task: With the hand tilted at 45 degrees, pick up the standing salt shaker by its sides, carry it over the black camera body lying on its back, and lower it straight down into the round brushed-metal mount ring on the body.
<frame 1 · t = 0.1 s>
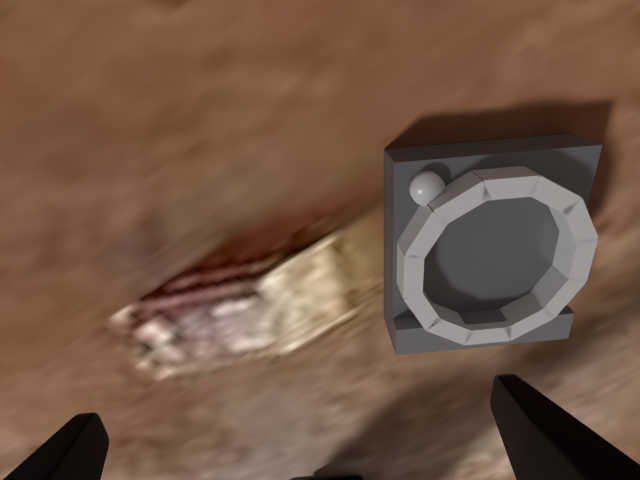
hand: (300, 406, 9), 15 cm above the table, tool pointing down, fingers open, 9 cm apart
camera body: (468, 234, 24), on the table
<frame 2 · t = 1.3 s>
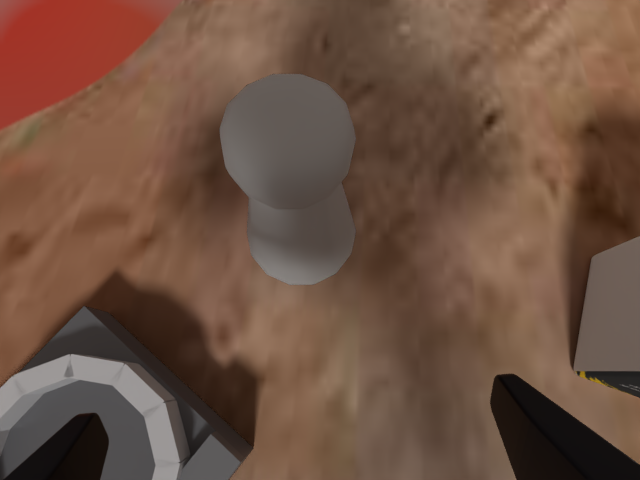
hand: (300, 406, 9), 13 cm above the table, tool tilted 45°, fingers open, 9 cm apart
camera body: (107, 457, 21), on the table
salt shaker: (303, 245, 25), on the table
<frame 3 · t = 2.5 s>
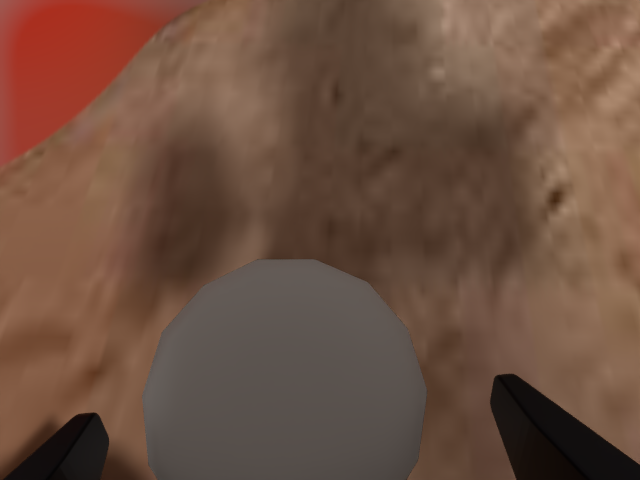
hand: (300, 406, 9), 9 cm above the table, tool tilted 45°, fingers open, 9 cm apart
salt shaker: (309, 380, 18), on the table
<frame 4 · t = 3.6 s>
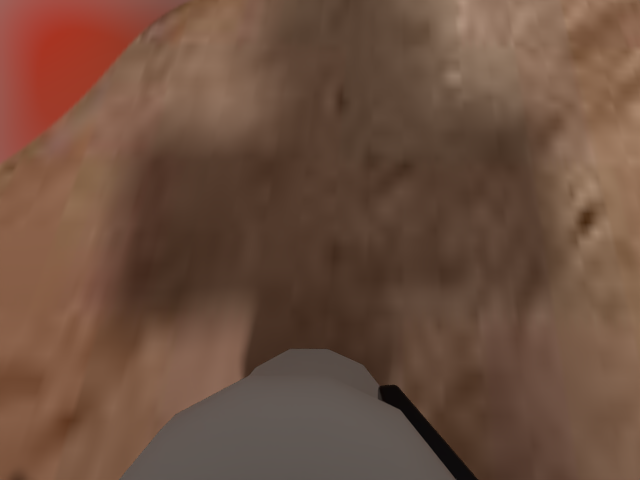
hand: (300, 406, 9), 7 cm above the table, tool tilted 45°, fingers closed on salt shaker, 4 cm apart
salt shaker: (311, 429, 16), on the table, touching gripper
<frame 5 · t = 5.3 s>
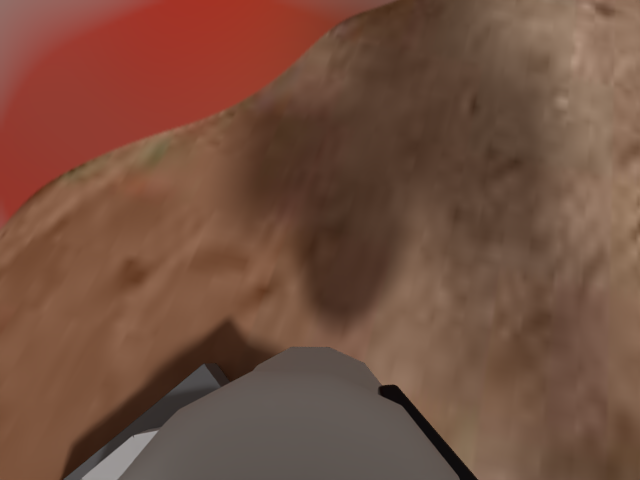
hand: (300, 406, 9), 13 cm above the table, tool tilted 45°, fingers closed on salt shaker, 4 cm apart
salt shaker: (312, 427, 16), point 6 cm above the table, touching gripper
when the fingers open (10 cm above the table, at t = 6.9 s): salt shaker stays where it is, resting on camera body.
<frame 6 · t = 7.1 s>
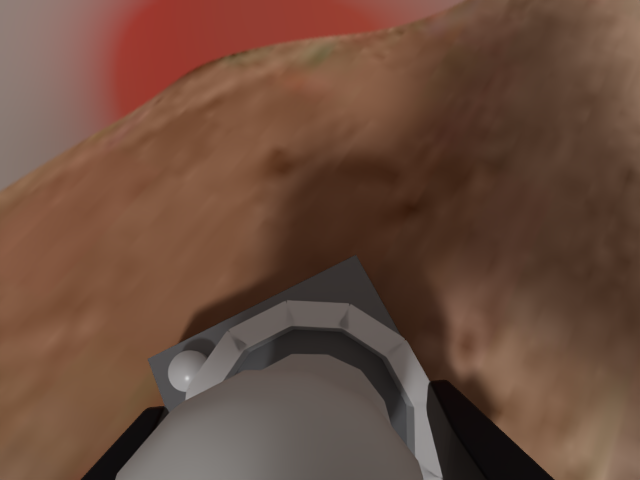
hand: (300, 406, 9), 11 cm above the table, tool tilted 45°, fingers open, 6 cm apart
camera body: (313, 419, 19), on the table
salt shaker: (312, 431, 17), point 2 cm above the table, touching camera body
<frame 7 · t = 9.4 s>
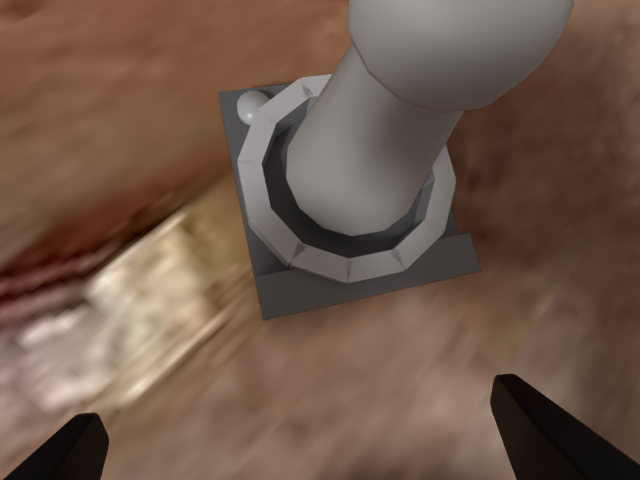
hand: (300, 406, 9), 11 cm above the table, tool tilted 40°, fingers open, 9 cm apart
camera body: (334, 198, 22), on the table
salt shaker: (342, 187, 20), point 2 cm above the table, touching camera body
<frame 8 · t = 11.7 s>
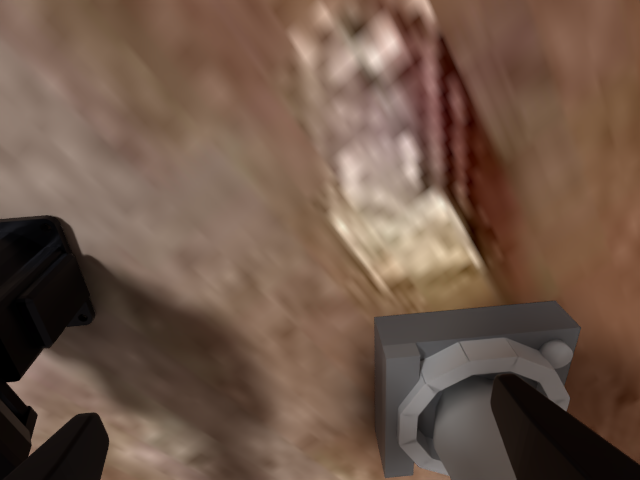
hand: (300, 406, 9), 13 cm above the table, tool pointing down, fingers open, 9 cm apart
camera body: (457, 370, 27), on the table
salt shaker: (468, 398, 25), point 2 cm above the table, touching camera body
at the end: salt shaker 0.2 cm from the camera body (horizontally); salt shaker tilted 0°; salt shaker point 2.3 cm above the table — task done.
